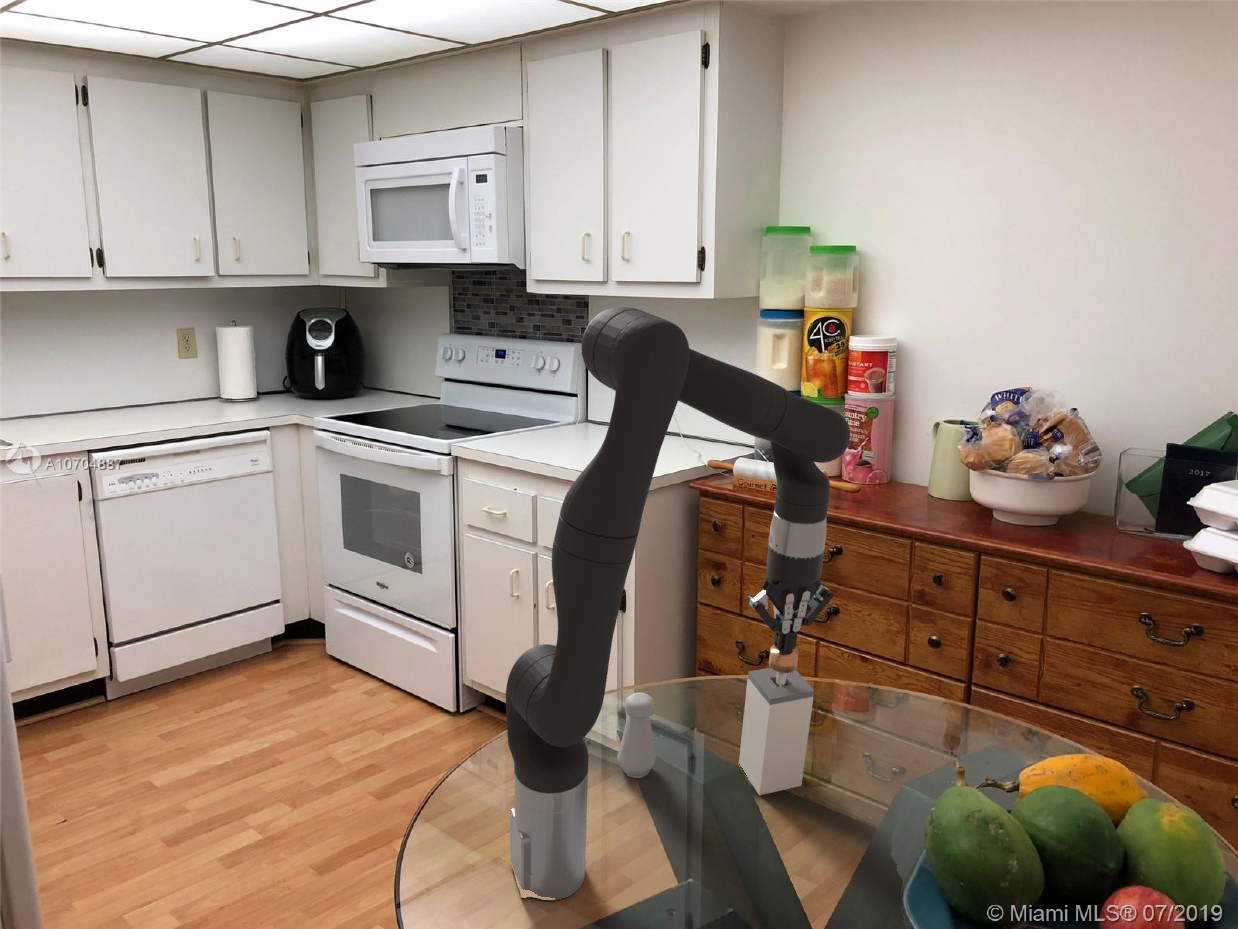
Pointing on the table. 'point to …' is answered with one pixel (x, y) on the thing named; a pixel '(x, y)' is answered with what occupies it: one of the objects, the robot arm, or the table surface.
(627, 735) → the salt shaker
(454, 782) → the table surface
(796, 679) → the press canister
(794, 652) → the plunger
